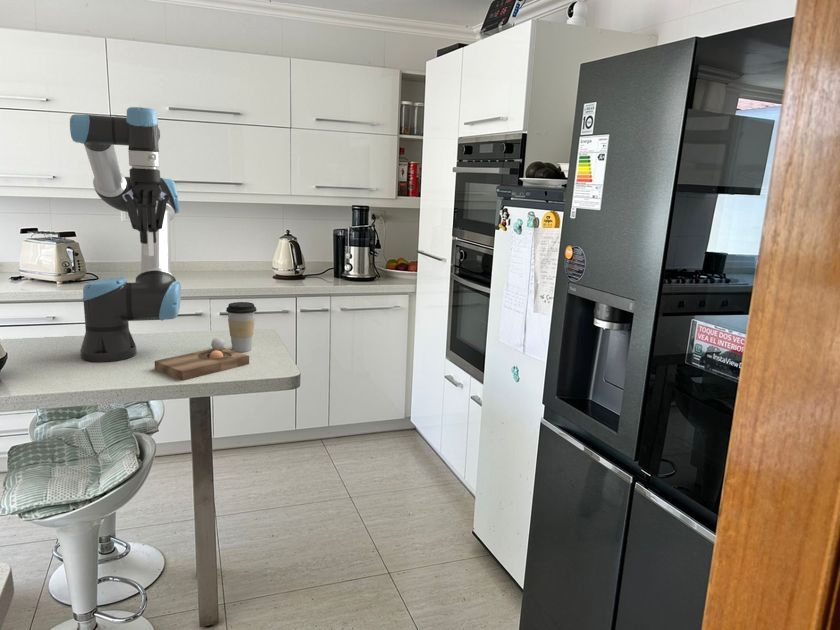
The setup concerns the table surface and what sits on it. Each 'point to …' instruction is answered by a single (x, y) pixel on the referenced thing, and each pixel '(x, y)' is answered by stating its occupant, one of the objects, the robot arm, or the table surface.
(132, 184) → the robot arm
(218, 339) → the grey ball
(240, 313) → the coffee cup
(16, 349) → the table surface
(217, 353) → the ball
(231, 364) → the brown wooden board
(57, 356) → the table surface
